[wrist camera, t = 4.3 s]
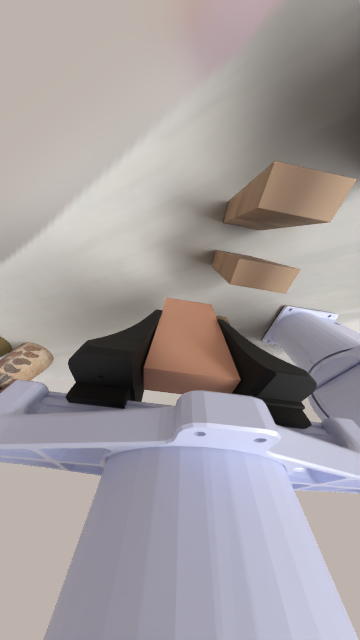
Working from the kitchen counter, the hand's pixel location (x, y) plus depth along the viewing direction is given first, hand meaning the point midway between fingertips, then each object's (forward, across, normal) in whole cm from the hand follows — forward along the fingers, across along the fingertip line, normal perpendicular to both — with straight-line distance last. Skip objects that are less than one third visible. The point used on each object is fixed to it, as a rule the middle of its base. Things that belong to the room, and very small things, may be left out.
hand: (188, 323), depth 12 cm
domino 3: (+10, -5, -5) cm, 12 cm away
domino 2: (+10, -5, -10) cm, 15 cm away
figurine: (+10, +32, +21) cm, 39 cm away
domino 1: (+3, 0, 0) cm, 3 cm away
